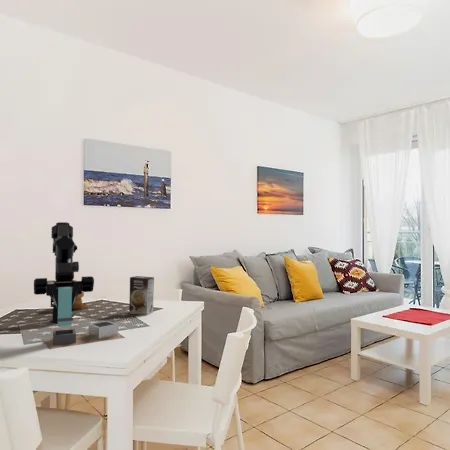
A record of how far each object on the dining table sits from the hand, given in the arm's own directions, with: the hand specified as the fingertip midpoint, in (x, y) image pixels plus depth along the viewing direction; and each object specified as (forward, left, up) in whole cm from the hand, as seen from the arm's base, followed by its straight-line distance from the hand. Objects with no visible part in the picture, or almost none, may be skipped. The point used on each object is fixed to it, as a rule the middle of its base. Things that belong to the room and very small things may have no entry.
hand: (64, 306), depth 128 cm
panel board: (-6, +3, -13) cm, 14 cm away
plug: (-1, -1, -6) cm, 6 cm away
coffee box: (-50, 0, -13) cm, 52 cm away
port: (-11, +7, -12) cm, 18 cm away
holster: (-1, -1, -12) cm, 12 cm away
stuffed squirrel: (-46, -34, -13) cm, 58 cm away
